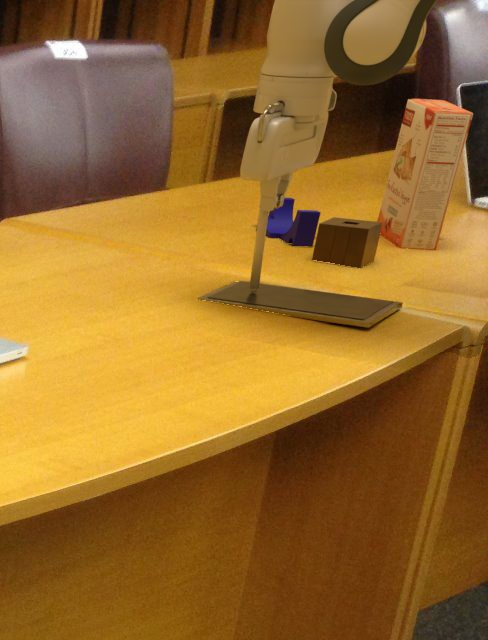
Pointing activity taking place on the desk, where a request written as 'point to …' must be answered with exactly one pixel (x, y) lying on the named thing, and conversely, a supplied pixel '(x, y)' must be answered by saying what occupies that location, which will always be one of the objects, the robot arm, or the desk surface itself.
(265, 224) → the stylus
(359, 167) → the desk surface
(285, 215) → the cable clip
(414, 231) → the cracker box
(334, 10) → the robot arm
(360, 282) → the desk surface
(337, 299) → the tablet
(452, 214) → the desk surface
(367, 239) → the pen stand
